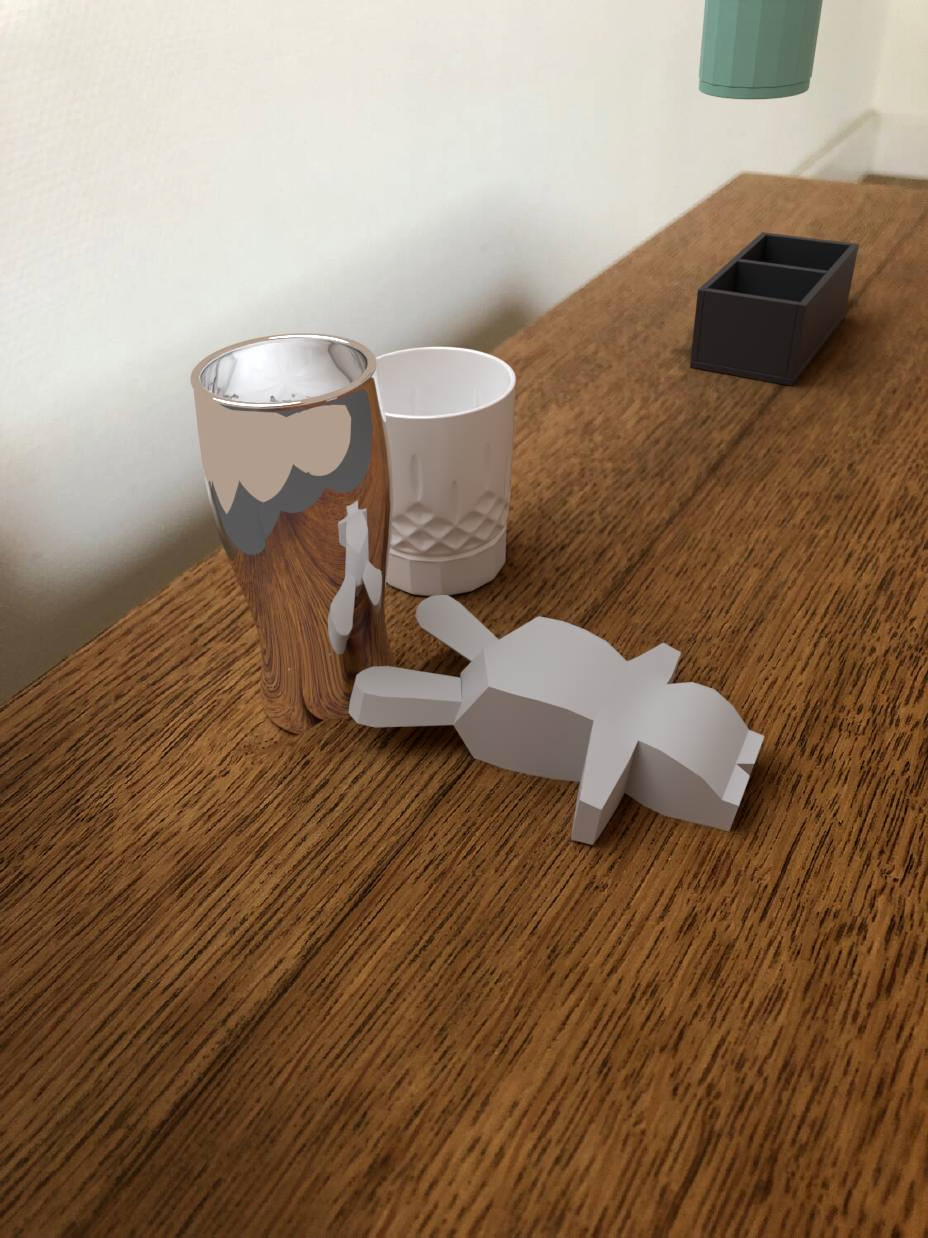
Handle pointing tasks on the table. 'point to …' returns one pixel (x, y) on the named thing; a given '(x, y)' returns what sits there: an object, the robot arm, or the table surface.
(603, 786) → the bunny figurine
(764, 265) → the holder
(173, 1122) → the table surface
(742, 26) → the bottle
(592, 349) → the table surface
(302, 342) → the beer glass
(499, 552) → the white cup
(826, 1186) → the table surface
